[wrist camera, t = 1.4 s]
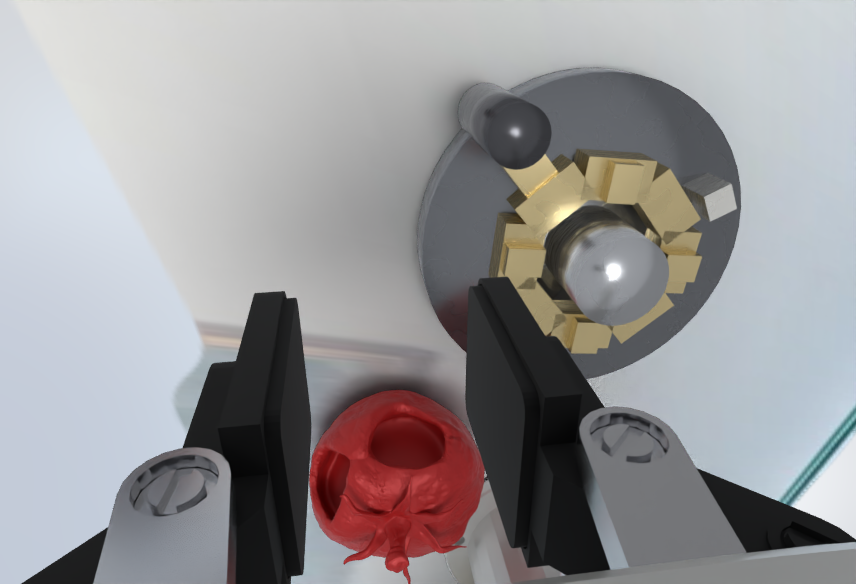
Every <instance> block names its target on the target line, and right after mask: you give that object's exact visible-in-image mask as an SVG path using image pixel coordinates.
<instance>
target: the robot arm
mask: <svg viewBox="0 0 856 584" xmlns="http://www.w3.org/2000/svg"><path fill="white" fill-rule="evenodd" d="M465 400H466V410H467V415H468V418H469V421H470V424H471V427H472V430H473V434H474V437H475V440H476V443H477V446H478V449H479V452H480V455H481V458H482V462H483V465H484V468H485V471H486V474H487V477H488V480H487V481H485V482H484V485H483V490H482V492H481V497H480V502H479V505H478V508H477V510H476V512H475V513H474V514H473V515H472V516H471V518H470V520H469V521H468V524H467V527H466V530H465V533H464V535H463V536H462V537H461V538H460V540H459V541H458V542H456V543H455V544H453V545H460V546H467V548H457V549H454V550H452V551H449V552H447V553H445V557H446V562H447V566H448V568H449V570H450V572H451V574H452V576H453V577H454V578H455V580H456V581H457V582H458V583H459V584H856V539H854V538H853V537H851V536H850V535H849V534H847V533H846V532H844V531H843V530H842V529H840V528H838V527H837V526H835V525H833V524H831V523H829V522H826V521H825V520H822V519H821V518H818V517H816V516H813V515H810V514H808V513H806V512H803V511H801V510H798V509H796V508H793V507H791V506H789V505H786V504H784V503H781V502H779V501H776V500H774V499H771V498H769V497H766V496H764V495H761V494H759V493H756V492H754V491H751V490H749V489H747V488H744V487H742V486H739V485H737V484H734V483H732V482H729V481H727V480H724V479H722V478H719V477H717V476H714V475H712V474H710V473H707V472H705V471H702V470H700V469H697V468H696V467H695V465H694V463H693V462H692V460H691V458H690V457H689V455H688V453H687V452H686V450H685V448H684V446H683V445H682V443H681V441H680V440H679V438H678V436H677V435H676V434H675V433H674V431H673V430H672V429H671V428H670V427H669V426H668V425H667V424H665V423H664V422H663V421H661V420H660V419H658V418H657V417H655V416H652V415H650V414H648V413H646V412H644V411H640V410H636V409H632V408H627V407H606V408H605V407H604V406H603V404H602V403H601V401H600V400H599V398H598V397H597V395H596V394H595V392H594V391H593V389H592V388H591V386H590V385H589V383H588V382H587V380H586V379H585V377H584V376H583V374H582V373H581V371H580V370H579V368H578V367H577V365H576V364H575V362H574V361H573V359H572V358H571V356H570V355H569V353H568V352H567V350H566V349H565V347H564V346H563V344H562V343H561V341H560V340H559V339H558V338H557V337H556V336H545V335H544V333H543V331H542V330H541V328H540V327H539V325H538V323H537V322H536V320H535V319H534V317H533V316H532V314H531V312H530V311H529V309H528V308H527V306H526V304H525V303H524V301H523V300H522V298H521V296H520V295H519V293H518V292H517V290H516V289H515V287H514V285H513V284H512V282H511V281H510V279H509V278H508V277H492V278H480V279H479V281H478V286H470V287H469V291H468V321H467V358H466V394H465ZM310 443H311V413H310V404H309V395H308V387H307V378H306V370H305V361H304V353H303V344H302V336H301V327H300V319H299V310H298V303H297V299H296V298H288V299H287V298H286V294H285V291H281V292H266V293H255V294H254V297H253V301H252V304H251V308H250V312H249V315H248V319H247V323H246V326H245V330H244V334H243V337H242V341H241V345H240V348H239V352H238V356H237V359H236V361H234V362H221V363H213V364H212V365H211V367H210V369H209V372H208V375H207V378H206V381H205V383H204V386H203V389H202V392H201V395H200V398H199V401H198V404H197V407H196V410H195V413H194V416H193V419H192V422H191V425H190V428H189V431H188V434H187V437H186V439H185V443H184V446H183V448H182V449H177V450H173V451H169V452H166V453H163V454H161V455H159V456H156V457H154V458H152V459H150V460H148V461H146V462H145V463H143V464H142V465H141V466H139V467H138V468H136V469H135V470H134V471H133V472H132V473H131V474H130V475H129V476H128V477H127V478H126V479H125V480H124V482H123V483H122V485H121V487H120V489H119V492H118V494H117V496H116V500H115V504H114V508H113V512H112V515H111V519H110V523H109V527H108V528H106V529H105V530H103V531H101V532H100V533H99V534H97V535H95V536H94V537H92V538H91V539H89V540H88V541H86V542H85V543H83V544H82V545H80V546H79V547H77V548H75V549H74V550H72V551H71V552H69V553H68V554H66V555H65V556H63V557H62V558H60V559H58V560H57V561H55V562H54V563H52V564H51V565H49V566H48V567H46V568H45V569H43V570H42V571H40V572H39V573H37V574H35V575H34V576H32V577H31V578H29V579H28V580H26V581H25V582H23V583H22V584H291V576H297V575H303V570H304V554H305V535H306V517H307V498H308V480H309V461H310ZM451 546H452V545H451Z"/></svg>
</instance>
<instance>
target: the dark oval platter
mask: <svg viewBox="0 0 856 584" xmlns="http://www.w3.org/2000/svg"><path fill="white" fill-rule="evenodd" d="M508 92H510V93H512V94H514V95H516V96H518V97H520V98H522V99H524V100H526V101H527V102H529V103H531V104H533V105H535V106H537V107H539V108H540V109H541V110H542V111H543V112H544V113H545V114H546V116H547V117H548V119H549V121H550V125H551V131H552V135H551V141H550V145H549V147H548V149H547V151H546V153H545V154H546V156H547V157H548V159H549V160H550V161H551V162H552V161H553V160H554V159H555V158H557V157H558V156H559V155H560V154H563V155H564V156H566V157H567V158H568V159H570V160H571V161H573V162H574V159H575V154H576V149H590V150H604V151H618V152H632V153H642V154H644V155H646V156H648V157H650V158H652V159H654V160H656V161H658V163H660V164H662V165H664V166H666V167H668V168H670V169H671V171H672V173H673V174H674V176H675V177H676V179H677V181H678V182H679V184H680V186H681V187H682V189H683V191H684V192H685V194H686V195H687V197H688V199H689V200H690V202H691V204H692V205H693V207H694V209H695V210H696V212H697V213H698V215H699V217H700V218H701V219H700V220H699V221H698V222H696V223H695V224H694V225H692V227H693V228H695V229H697V230H698V231H700V232H701V233H702V235H701V238H700V241H699V244H698V247H697V251H696V252H697V253H698V254H700V255H701V256H702V259H701V262H700V265H699V268H698V271H697V275H696V278H695V281H694V282H686V285H685V289H684V292H683V294H682V293H666V295H667V296H668V298H669V299H670V300H671V302H672V303H673V305H674V306H673V307H671V308H670V309H669V310H667V311H666V312H664V313H663V314H662V315H660V316H659V317H658V318H656V319H655V320H653V321H652V322H651V323H649V324H648V325H647V326H645V327H644V328H642V329H641V330H640V331H638V332H637V333H636V334H634V335H633V336H631V337H630V338H629V339H627V340H626V341H625V342H623V343H622V344H621V343H620V342H619V340H618V339H617V338H616V337H615V336H614V334H613V333H612V334H611V338H610V342H609V346H608V348H598V350H597V354H586V353H570V351H569V350H568V348H565V349H566V350H567V352H568V353H569V355H570V356H571V358H572V359H573V361H574V362H575V364H576V365H577V367H578V368H579V370H580V371H581V373H582V374H583V376H584V377H585V379H589V378H594V377H598V376H601V375H605V374H608V373H611V372H614V371H617V370H619V369H621V368H623V367H626V366H628V365H630V364H633V363H634V362H636V361H638V360H640V359H642V358H643V357H645V356H647V355H649V354H650V353H652V352H653V351H655V350H656V349H658V348H659V347H661V346H662V345H663V344H665V343H666V342H667V341H669V340H670V339H671V338H672V337H673V336H674V335H676V334H677V333H678V332H679V331H680V330H681V329H682V328H683V327H684V326H685V325H686V324H687V323H688V322H689V321H690V320H691V319H692V318H693V317H694V316H695V315H696V314H697V312H698V311H699V310H700V309H701V307H702V306H703V305H704V303H705V302H706V301H707V300H708V298H709V297H710V295H711V293H712V292H713V290H714V289H715V287H716V286H717V284H718V282H719V280H720V278H721V276H722V274H723V272H724V270H725V268H726V266H727V264H728V261H729V258H730V256H731V253H732V250H733V248H734V244H735V240H736V236H737V232H738V227H739V219H740V210H741V191H740V181H739V175H738V169H737V165H736V162H735V159H734V156H733V153H732V150H731V148H730V146H729V144H728V142H727V140H726V138H725V136H724V134H723V132H722V130H721V129H720V128H719V126H718V125H717V123H716V122H715V121H714V119H713V118H712V117H711V115H710V114H709V113H708V112H707V111H706V110H705V109H703V108H702V107H701V106H700V105H699V104H698V103H697V102H696V101H695V100H693V99H692V98H691V97H689V96H688V95H686V94H685V93H683V92H682V91H680V90H679V89H677V88H674V87H672V86H670V85H668V84H666V83H664V82H662V81H659V80H656V79H652V78H649V77H645V76H642V75H638V74H634V73H630V72H625V71H621V70H614V69H606V68H576V69H570V70H564V71H558V72H553V73H550V74H547V75H544V76H541V77H538V78H534V79H532V80H530V81H527V82H525V83H523V84H521V85H519V86H517V87H515V88H513V89H511V90H509V91H508ZM516 190H518V188H517V186H516V185H515V184H514V183H513V181H512V180H511V179H510V177H509V176H508V175H507V174H506V172H505V171H504V170H503V168H502V167H501V166H500V164H498V163H497V162H496V161H495V160H494V159H493V158H492V157H491V156H490V155H489V154H488V153H487V152H486V151H485V150H484V149H483V148H482V147H481V146H480V145H479V144H478V143H477V142H476V141H475V140H474V139H473V138H472V137H471V136H470V135H469V134H468V133H467V132H466V131H465V130H464V129H463V128H462V129H461V130H460V131H459V133H458V134H457V135H456V136H455V138H454V139H453V140H452V142H451V143H450V145H449V146H448V147H447V149H446V150H445V151H444V153H443V155H442V157H441V158H440V160H439V162H438V164H437V166H436V167H435V169H434V171H433V173H432V176H431V178H430V181H429V183H428V186H427V188H426V191H425V194H424V198H423V202H422V206H421V209H420V215H419V223H418V232H417V236H418V256H419V262H420V269H421V273H422V276H423V279H424V282H425V285H426V289H427V292H428V295H429V298H430V301H431V304H432V306H433V308H434V310H435V312H436V314H437V317H438V319H439V321H440V322H441V324H442V325H443V327H444V328H445V329H446V331H447V332H448V334H449V335H450V336H451V338H452V339H453V340H454V341H455V342H456V343H457V344H458V345H459V346H460V347H461V348H462V349H463V350H464V351H466V352H467V321H468V291H469V287H470V286H478V281H479V279H480V278H490V277H489V275H488V273H489V267H490V260H491V254H492V248H493V241H494V235H495V228H496V222H497V215H498V213H515V214H517V212H516V211H515V210H514V209H513V207H512V206H511V205H510V204H509V202H508V201H507V200H506V199H507V198H508V197H509V196H510V195H511V194H513V193H514V192H515V191H516ZM646 230H647V227H646V226H645V224H644V223H643V221H642V220H641V218H640V217H639V215H638V214H637V212H636V211H635V209H634V208H633V206H632V205H631V204H613V203H606V202H604V201H597V200H588V201H587V202H586V203H584V204H583V205H582V206H581V207H579V208H578V209H577V210H576V211H574V212H573V213H572V214H570V215H569V216H568V217H567V218H565V219H564V220H563V221H562V222H560V223H559V224H558V225H557V226H555V227H554V228H553V229H552V230H550V231H549V232H548V233H546V236H545V241H544V246H543V247H544V248H545V249H546V255H545V260H544V265H543V270H542V275H541V278H540V277H537V281H538V282H539V284H540V285H541V286H542V287H543V288H544V290H545V291H546V292H547V293H548V294H549V296H550V297H551V298H552V299H553V300H573V301H574V302H575V304H576V305H577V306H578V307H579V309H580V310H581V311H582V312H583V314H584V315H585V316H586V317H587V318H589V319H590V320H592V321H594V322H596V323H598V324H602V325H607V326H616V325H623V324H627V323H630V322H632V321H635V320H637V319H639V318H640V317H642V316H644V315H645V314H646V313H648V312H649V311H650V310H651V309H652V308H653V307H654V306H655V305H656V304H657V303H658V301H659V300H660V299H661V297H662V295H663V294H664V291H665V289H666V287H667V284H668V279H669V265H668V261H667V258H666V256H665V254H664V252H663V251H662V250H661V249H660V248H659V247H658V246H657V245H656V244H655V243H653V242H652V241H651V240H649V239H648V238H647V237H645V234H646Z"/></svg>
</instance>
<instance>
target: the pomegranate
mask: <svg viewBox="0 0 856 584" xmlns="http://www.w3.org/2000/svg"><path fill="white" fill-rule="evenodd" d="M484 471H485V468H484V465H483V462H482V458H481V455H480V452H479V450H478V448H477V446H476V444H475V442H474V440H473V438H472V436H471V434H470V432H469V431H468V430H467V428H466V426H465V425H464V424H463V422H462V421H461V420H460V419H459V418H458V417H457V416H455V415H454V414H453V413H452V412H450V411H449V410H448V409H446V408H444V407H443V406H441V405H440V404H438V403H437V402H435V401H434V400H432V399H430V398H428V397H425V396H422V395H420V394H418V393H416V392H412V391H407V390H390V391H382V392H379V393H377V394H373V395H371V396H369V397H365V398H364V399H361V400H359V401H358V402H356V403H354V404H353V405H351V406H350V407H348V408H347V409H346V410H345V411H344V412H342V413H341V414H340V415H339V416H338V417H337V418H336V419H335V421H334V422H333V423H332V424H331V426H330V427H329V429H328V430H326V431H325V433H324V434H323V435H322V437H321V439H320V441H319V442H318V444H317V446H316V448H315V450H314V453H313V456H312V462H311V469H310V477H309V485H310V496H311V499H312V508H313V511H314V515H315V517H316V520H317V521H318V523H319V526H320V528H321V529H322V531H323V532H324V533H325V534H326V535H327V536H328V537H329V538H330V539H331V540H333V541H335V542H337V543H339V544H342V545H344V546H346V547H347V548H349V549H353V550H355V551H358V553H356V554H353V555H351V556H349V557H347V558H346V559H345V560H344V565H345V564H346V563H347V562H349V561H353V560H362V559H365V558H367V557H369V556H370V555H373V556H379V557H383V558H385V557H386V560H385V565H386V568H387V569H388V570H390V571H394V572H396V573H398V572H400V571H402V570H403V574H404V576H405V577H406V578H407V580H408V584H410V581H411V580H410V576H409V573H408V569H407V567H408V566H409V561H408V557H412V558H414V557H419V556H423V555H426V554H429V553H431V552H435V551H436V552H438V553H447V552H449V551H452V550H454V549H457V548H467V546H460V545H453V544H455V543H456V542H458V541H459V540H460V538H461V537H462V536H463V535H464V533H465V530H466V527H467V524H468V521H469V520H470V518H471V516H472V515H473V514H474V513H475V512H476V510H477V508H478V505H479V502H480V497H481V492H482V490H483V485H484ZM451 545H452V546H451Z"/></svg>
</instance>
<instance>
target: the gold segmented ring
mask: <svg viewBox="0 0 856 584" xmlns="http://www.w3.org/2000/svg"><path fill="white" fill-rule="evenodd" d="M458 118H459V122H460V124H461V126H462V128H463V129H464V130H465V131H466V132H467V133H468V134H469V135H470V136H471V137H472V138H473V139H474V140H475V141H476V142H477V143H478V144H479V145H480V146H481V147H482V148H483V149H484V150H485V151H486V152H487V153H488V154H489V155H490V156H491V157H492V158H493V159H494V160H495V161H496V162H497V163H498V164H500V166H501V167H502V168H503V170H504V171H505V172H506V174H507V175H508V176H509V177H510V179H511V180H512V181H513V183H514V184H515V185H516V186H517V188H518V190H516V191H515V192H514V193H513V194H511V195H510V196H509V197H508V198H507V199H506V200H507V201H508V202H509V204H510V205H511V206H512V207H513V209H514V210H515V211H516V212H517V214H515V213H498V215H497V222H496V228H495V235H494V241H493V248H492V254H491V260H490V267H489V273H488V275H489V277H490V278H492V277H508V278H509V279H510V281H511V282H512V284H513V285H514V287H515V289H516V290H517V292H518V293H519V295H520V296H521V298H522V300H523V301H524V303H525V304H526V306H527V308H528V309H529V311H530V312H531V314H532V316H533V317H534V319H535V320H536V322H537V323H538V325H539V327H540V328H541V330H542V331H543V333H544V335H545V336H556V337H557V338H558V339H559V340H560V341H561V343H562V344H563V346H564V347H565V348H568V350H569V351H570V353H586V354H597V350H598V348H608V346H609V342H610V338H611V334H612V333H613V334H614V336H615V337H616V338H617V339H618V340H619V342H620V343H621V344H622V343H623V342H625V341H626V340H627V339H629V338H630V337H631V336H633V335H634V334H636V333H637V332H638V331H640V330H641V329H642V328H644V327H645V326H647V325H648V324H649V323H651V322H652V321H653V320H655V319H656V318H658V317H659V316H660V315H662V314H663V313H664V312H666V311H667V310H669V309H670V308H671V307H673V306H674V305H673V303H672V302H671V300H670V299H669V298H668V296H667V295H666V293H682V294H683V292H684V289H685V285H686V282H694V281H695V278H696V275H697V271H698V268H699V265H700V262H701V259H702V256H701V255H700V254H698V253H697V252H696V251H697V247H698V244H699V241H700V238H701V235H702V233H701V232H700V231H698V230H697V229H695V228H693V227H692V225H694V224H695V223H696V222H698V221H699V220H700V219H701V218H700V217H699V215H698V213H697V212H696V210H695V209H694V207H693V205H692V204H691V202H690V200H689V199H688V197H687V195H686V194H685V192H684V191H683V189H682V187H681V186H680V184H679V182H678V181H677V179H676V177H675V176H674V174H673V173H672V171H671V169H670V168H668V167H666V166H664V165H662V164H660V163H658V161H656V160H654V159H652V158H650V157H648V156H646V155H644V154H642V153H632V152H618V151H604V150H590V149H576V154H575V159H574V162H573V161H571V160H570V159H568V158H567V157H566V156H564V155H563V154H560V155H559V156H558V157H557V158H555V159H554V160H553V161H552V162H551V161H550V160H549V159H548V157H547V156H546V154H545V153H546V151H547V149H548V147H549V145H550V141H551V135H552V131H551V125H550V121H549V119H548V117H547V116H546V114H545V113H544V112H543V111H542V110H541V109H540V108H539V107H537V106H535V105H533V104H531V103H529V102H527V101H526V100H524V99H522V98H520V97H518V96H516V95H514V94H512V93H510V92H508V91H506V90H504V89H502V88H501V87H499V86H497V85H495V84H491V83H480V84H477V85H474V86H473V87H471V88H470V89H468V90H467V91H466V92H465V94H464V95H463V96H462V98H461V100H460V103H459V106H458ZM588 200H597V201H604V202H606V203H613V204H631V205H632V206H633V208H634V209H635V211H636V212H637V214H638V215H639V217H640V218H641V220H642V221H643V223H644V224H645V226H646V227H647V230H646V234H645V237H647V238H648V239H649V240H651V241H652V242H653V243H655V244H656V245H657V246H658V247H659V248H660V249H661V250H662V251H663V252H664V254H665V256H666V258H667V261H668V265H669V279H668V284H667V287H666V289H665V291H664V294H663V295H662V297H661V299H660V300H659V301H658V303H657V304H656V305H655V306H654V307H653V308H652V309H651V310H650V311H649V312H648V313H646V314H645V315H644V316H642V317H640V318H639V319H637V320H635V321H632V322H630V323H627V324H623V325H616V326H607V325H602V324H598V323H596V322H594V321H592V320H590V319H589V318H587V317H586V316H585V315H584V314H583V312H582V311H581V310H580V309H579V307H578V306H577V305H576V304H575V302H574V301H573V300H553V299H552V298H551V297H550V296H549V294H548V293H547V292H546V291H545V290H544V288H543V287H542V286H541V285H540V284H539V282H538V281H537V277H540V278H541V275H542V270H543V265H544V260H545V255H546V249H545V248H544V247H543V246H544V241H545V236H546V233H548V232H549V231H550V230H552V229H553V228H554V227H555V226H557V225H558V224H559V223H560V222H562V221H563V220H564V219H565V218H567V217H568V216H569V215H570V214H572V213H573V212H574V211H576V210H577V209H578V208H579V207H581V206H582V205H583V204H584V203H586V202H587V201H588Z"/></svg>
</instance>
